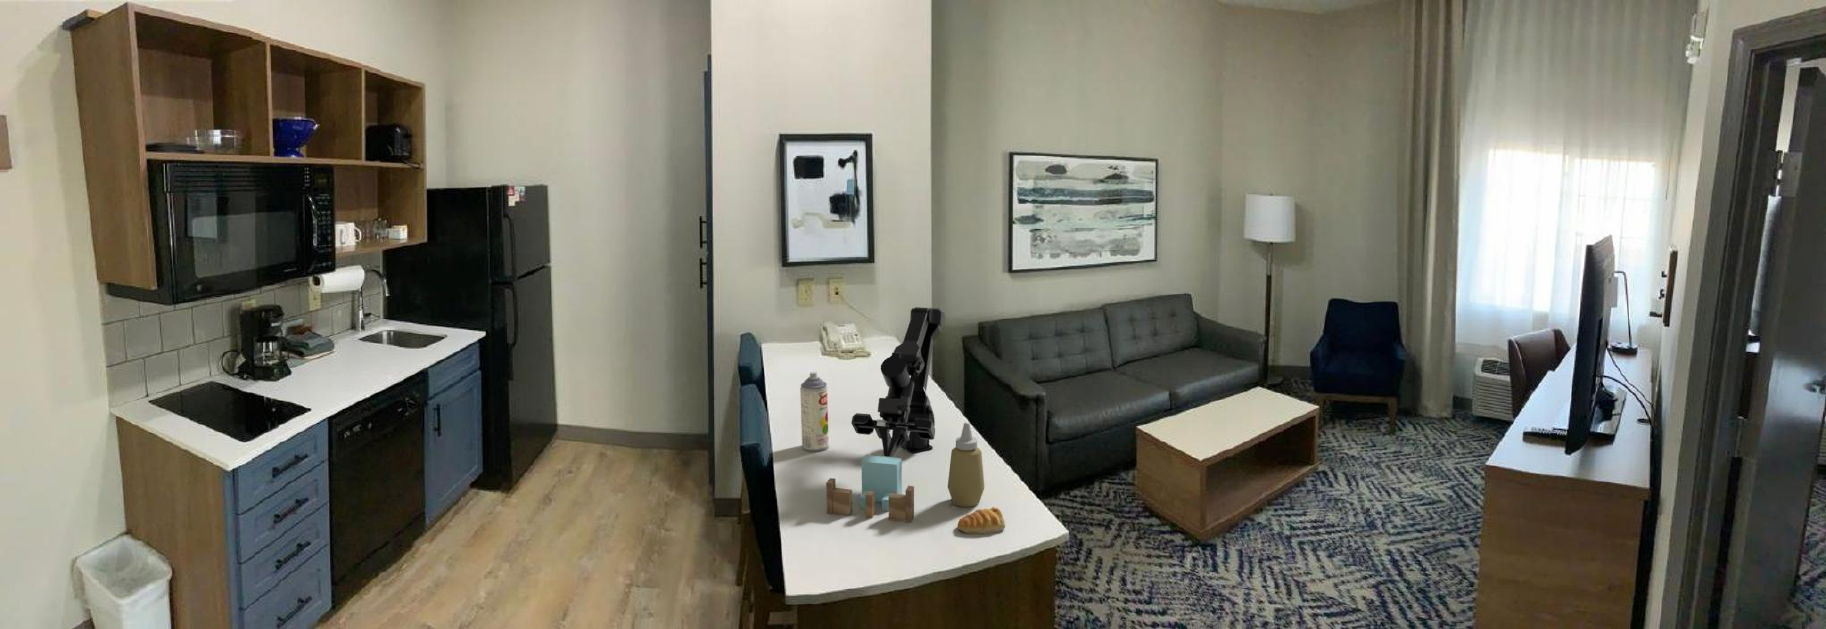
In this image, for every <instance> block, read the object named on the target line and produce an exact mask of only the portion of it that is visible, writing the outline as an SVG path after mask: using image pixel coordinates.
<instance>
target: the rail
mask: <svg viewBox="0 0 1826 629" xmlns="http://www.w3.org/2000/svg"><path fill="white" fill-rule="evenodd" d="M836 482H837V481H836V478H833V477H829V479H828V480H827V481H826V485H825V486H826V488H825V489H826V514H828V515H829V514H830V515H843V516H851V514H852V513H853V489H851V488H842V487H840V488H839V487H837V486H836ZM865 500H866V509H865V518H869V519H873V517H874V516H875V514H876V501H875V492H873V491H868V492H867V493H866V495H865ZM914 518H915V486H914V485H908V486H907V487H906V489H905V494H903V493H902V494H893V493H891V494H890V496H889V511H888V520H889V521H890V520H891V521H899V522H905V523H913V520H914Z"/></svg>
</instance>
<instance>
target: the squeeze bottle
mask: <svg viewBox="0 0 1826 629" xmlns="http://www.w3.org/2000/svg"><path fill="white" fill-rule="evenodd" d="M971 430H972V428H971V424H970V422H964V423H963V426H962V431H961V434H960V436H959V437H957V438H955V447H953V448H952V449H951V452H950V460H949V461H950V462H949V471H948V478H947V480H948V481H947V490H948V492H949V495H950V498H951V500H952V501H951V502H952V503H953V504H954V505H956V506H957V507H965V508H966V507H967V508H969V507H975V506H977V505H978V504H979V503H980V500H981V498H982V496H983V493H984V490H985V477H984V465H983V456H982V454H983V453H982V450H981V449H980V448H979V447H978V439H977V438H976V437H974V436H973V434H972V431H971Z"/></svg>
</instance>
